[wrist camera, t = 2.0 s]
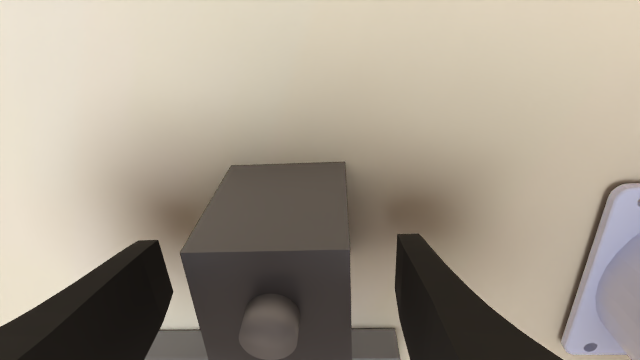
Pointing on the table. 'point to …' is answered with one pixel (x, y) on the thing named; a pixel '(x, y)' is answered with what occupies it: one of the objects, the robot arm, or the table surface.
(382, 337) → the socket plate
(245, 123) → the table surface
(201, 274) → the plug block
